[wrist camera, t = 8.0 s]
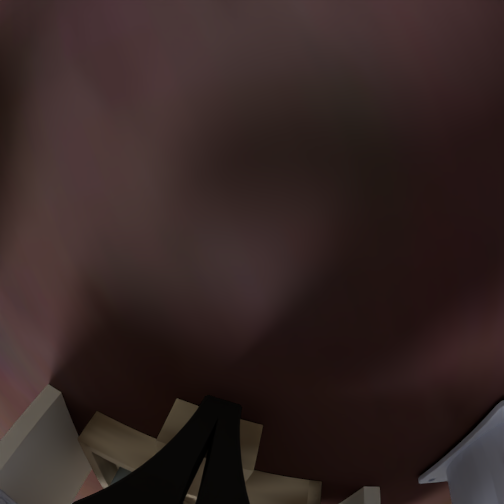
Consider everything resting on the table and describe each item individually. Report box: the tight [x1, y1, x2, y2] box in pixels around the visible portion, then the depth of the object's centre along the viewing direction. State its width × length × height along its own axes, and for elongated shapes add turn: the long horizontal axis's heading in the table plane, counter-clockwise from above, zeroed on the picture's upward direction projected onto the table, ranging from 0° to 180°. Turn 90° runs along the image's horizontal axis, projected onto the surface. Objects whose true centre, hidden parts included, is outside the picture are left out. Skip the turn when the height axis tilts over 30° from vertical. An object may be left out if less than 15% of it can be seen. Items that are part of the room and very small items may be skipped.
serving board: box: [77, 398, 322, 504], centre depth 14 cm, size 14×15×2 cm
